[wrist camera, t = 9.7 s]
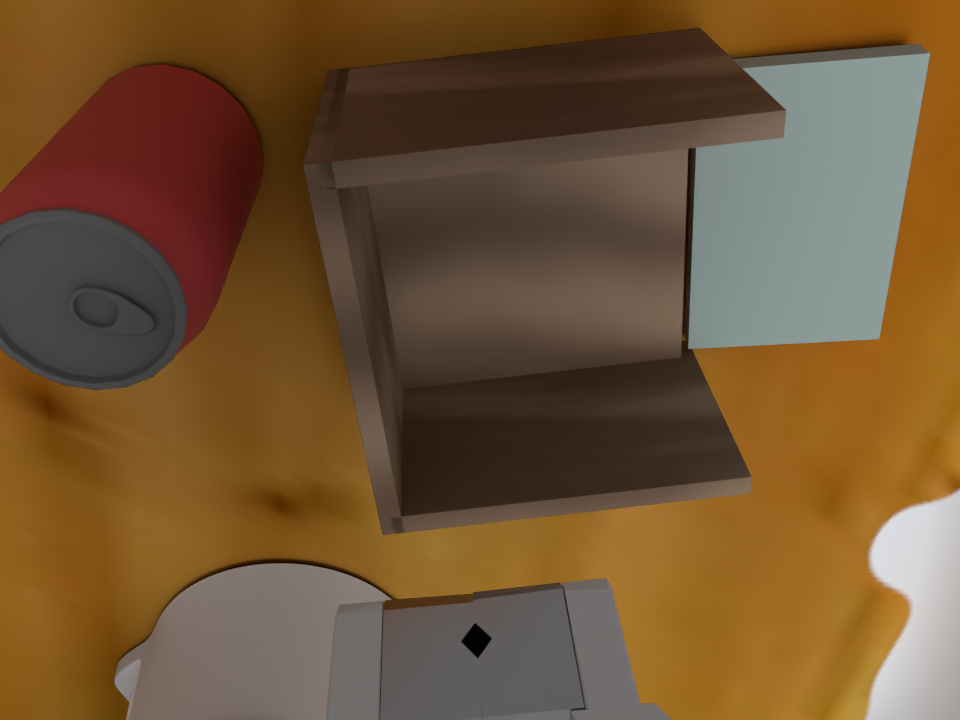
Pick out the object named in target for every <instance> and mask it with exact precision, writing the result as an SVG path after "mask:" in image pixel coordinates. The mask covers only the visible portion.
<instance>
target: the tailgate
mask: <svg viewBox="0 0 960 720" xmlns="http://www.w3.org/2000/svg"><path fill="white" fill-rule="evenodd" d="M929 57H930V53H929V52H928V51H927V50H926V49H924V48H923V47H922V46H920V45H919V44H910V45H898V46H885V47H873V48H861V49H849V50H836V51H824V52H812V53H799V54H787V55H775V56H762V57H750V58H738V59H733V60H734V61H735V62H736V63H737V64H738V65H739V66H740V67H741V68H742V69H744V70H745V71H746V72H747V73H748V74H749V75H750V76H751V77H752V78H753V79H754V80H755V81H756V82H757V83H758V84H759V85H760V86H761V87H763V88H764V89H765V90H766V91H767V92H768V93H769V94H770V95H771V96H772V97H773V98H774V99H775V100H776V101H777V102H778V103H779V104H780V105H782V106H783V107H784V108H785V109H786V120H785V130H784V138H776V139H768V140H759V141H750V142H741V143H733V144H724V145H715V146H706V147H698V148H691V164H690V192H689V220H688V248H687V275H686V303H685V331H684V335H685V338H686V342H687V346H688V349H698V348H718V347H737V346H756V345H775V344H794V343H813V342H832V341H851V340H870V339H879V337H880V331H881V326H882V320H883V315H884V309H885V303H886V298H887V292H888V287H889V281H890V275H891V270H892V264H893V259H894V253H895V247H896V242H897V236H898V231H899V225H900V220H901V214H902V208H903V203H904V197H905V192H906V186H907V180H908V175H909V169H910V164H911V158H912V152H913V147H914V141H915V136H916V130H917V124H918V119H919V113H920V108H921V102H922V97H923V91H924V85H925V80H926V74H927V69H928V63H929Z"/></svg>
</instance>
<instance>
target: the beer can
mask: <svg viewBox="0 0 960 720" xmlns="http://www.w3.org/2000/svg"><path fill="white" fill-rule="evenodd" d="M262 164H263V156H262V152H261V147H260V142H259V138H258V133H257V131H256V129H255V127H254V126H253V124H252V122H251V120H250V119H249V117H248V115H247V113H246V112H245V110H244V108H243V107H242V106H241V105H240V104H239V103H238V102H237V101H236V100H235V99H234V98H233V97H232V96H231V95H230V94H229V93H228V92H227V91H226V90H225V89H224V88H223V87H222V86H221V85H219V84H217V83H215V82H213V81H211V80H209V79H208V78H206V77H204V76H202V75H200V74H198V73H197V72H195V71H192V70H187V69H183V68H178V67H174V66H169V65H164V64H161V65H150V66H139V67H133V68H131V69H129V70H126V71H124V72H122V73H120V74H118V75H116V76H114V77H111V78H109V79H108V80H107V81H106V82H105V83H104V84H103V85H102V86H101V88H100V89H99V90H98V91H97V92H96V93H95V94H94V95H93V96H92V97H91V98H90V99H89V100H88V101H87V102H86V103H85V104H84V105H83V106H82V108H81V109H80V110H79V111H78V112H77V113H76V114H75V115H74V116H73V117H72V118H71V119H70V120H69V121H68V122H67V123H66V124H65V125H64V126H63V128H62V129H61V130H60V131H59V132H58V133H57V134H56V135H55V136H54V137H53V138H52V139H51V140H50V141H49V142H48V143H47V144H46V145H45V146H44V148H43V149H42V150H41V151H40V152H39V153H38V154H37V155H36V156H35V157H34V158H33V159H32V160H31V161H30V162H29V163H28V164H27V165H26V166H25V167H24V169H23V170H22V171H21V172H20V173H19V174H18V175H17V176H16V177H15V178H14V179H13V180H12V181H11V182H10V183H9V184H8V185H7V186H6V187H5V189H4V190H3V191H2V192H1V193H0V348H1V349H2V350H3V351H4V353H5V354H7V355H8V356H10V357H11V358H12V359H14V360H15V361H17V362H18V363H20V364H21V365H22V366H24V367H25V368H27V369H28V370H30V371H31V372H32V373H35V374H37V375H40V376H42V377H45V378H47V379H50V380H52V381H55V382H57V383H60V384H62V385H66V386H73V387H79V388H86V389H92V390H102V389H112V388H123V387H128V386H131V385H133V384H136V383H138V382H141V381H143V380H146V379H148V378H151V377H153V376H154V375H155V374H157V373H158V372H159V371H160V370H161V369H162V368H164V367H165V366H166V365H167V364H168V363H169V362H170V361H172V360H173V358H174V356H175V355H176V354H177V353H178V352H179V351H181V350H182V349H183V348H184V347H185V346H186V345H188V344H189V343H190V342H191V341H192V340H193V339H194V338H195V337H196V336H197V335H198V334H199V333H200V332H201V331H202V330H203V329H204V327H205V325H206V323H207V321H208V319H209V317H210V316H211V314H212V312H213V310H214V308H215V306H216V304H217V302H218V299H219V296H220V294H221V291H222V288H223V285H224V283H225V280H226V277H227V274H228V271H229V269H230V266H231V263H232V260H233V258H234V255H235V252H236V249H237V247H238V244H239V241H240V238H241V235H242V233H243V230H244V227H245V224H246V222H247V219H248V216H249V213H250V211H251V208H252V205H253V202H254V199H255V197H256V194H257V191H258V188H259V186H260V181H261V172H262Z"/></svg>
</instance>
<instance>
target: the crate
mask: <svg viewBox="0 0 960 720" xmlns="http://www.w3.org/2000/svg"><path fill="white" fill-rule="evenodd" d="M785 120H786V109H785V108H784V107H783V106H782V105H780V104H779V103H778V102H777V101H776V100H775V99H774V98H773V97H772V96H771V95H770V94H769V93H768V92H767V91H766V90H765V89H764V88H763V87H761V86H760V85H759V84H758V83H757V82H756V81H755V80H754V79H753V78H752V77H751V76H750V75H749V74H748V73H747V72H746V71H745V70H744V69H742V68H741V67H740V66H739V65H738V64H737V63H736V62H735V61H734V60H733V59H732V58H731V57H730V56H729V55H728V54H727V53H726V52H725V51H723V50H722V49H721V48H720V47H719V46H718V45H717V44H716V43H715V42H714V41H713V40H712V39H711V38H710V37H709V36H708V35H707V34H706V33H705V32H703V31H702V30H701V29H700V28H697V29H689V30H680V31H671V32H662V33H654V34H645V35H636V36H628V37H619V38H610V39H601V40H593V41H584V42H575V43H566V44H558V45H549V46H540V47H532V48H523V49H514V50H505V51H497V52H488V53H479V54H470V55H462V56H453V57H444V58H435V59H427V60H418V61H409V62H401V63H392V64H383V65H374V66H366V67H357V68H348V69H339V70H331V71H328V75H327V79H326V82H325V86H324V90H323V93H322V97H321V101H320V104H319V108H318V112H317V115H316V119H315V123H314V126H313V130H312V134H311V137H310V141H309V145H308V148H307V152H306V156H305V159H304V163H303V168H304V173H305V178H306V182H307V187H308V191H309V196H310V201H311V205H312V210H313V215H314V219H315V224H316V228H317V233H318V238H319V242H320V247H321V252H322V256H323V261H324V266H325V270H326V275H327V279H328V284H329V289H330V293H331V298H332V303H333V307H334V312H335V316H336V321H337V326H338V330H339V335H340V340H341V344H342V349H343V353H344V358H345V363H346V367H347V372H348V377H349V381H350V386H351V390H352V395H353V400H354V404H355V409H356V414H357V418H358V423H359V428H360V432H361V437H362V441H363V446H364V451H365V455H366V460H367V465H368V469H369V474H370V478H371V483H372V488H373V492H374V497H375V502H376V506H377V511H378V515H379V520H380V525H381V529H382V534H383V535H387V534H395V533H404V532H413V531H422V530H431V529H440V528H448V527H457V526H466V525H475V524H484V523H493V522H501V521H510V520H519V519H528V518H537V517H546V516H555V515H563V514H572V513H581V512H590V511H599V510H608V509H616V508H625V507H634V506H643V505H652V504H661V503H669V502H678V501H687V500H696V499H705V498H714V497H722V496H731V495H740V494H749V493H750V488H751V478H752V477H751V475H750V473H749V470H748V468H747V466H746V464H745V462H744V460H743V458H742V456H741V453H740V451H739V449H738V447H737V445H736V443H735V441H734V439H733V436H732V434H731V432H730V430H729V428H728V426H727V424H726V421H725V419H724V417H723V415H722V413H721V411H720V409H719V407H718V404H717V402H716V400H715V398H714V396H713V394H712V392H711V389H710V387H709V385H708V383H707V381H706V379H705V377H704V375H703V372H702V370H701V368H700V366H699V364H698V362H697V360H696V357H695V355H694V353H693V351H692V349H688V346H687V342H686V341H685V342H682V316H683V287H684V257H685V228H686V199H687V170H688V149H689V148H698V147H706V146H715V145H724V144H733V143H741V142H750V141H759V140H768V139H776V138H784V130H785Z"/></svg>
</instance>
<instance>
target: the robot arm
mask: <svg viewBox="0 0 960 720" xmlns="http://www.w3.org/2000/svg"><path fill="white" fill-rule="evenodd" d="M114 682H115V686H116V687H117V689H118V690H119V691H120V692H121V693H122V695H123V696H124V697H125V698H126V699H127V700H128V702H129V708H128V712H127V717H126V720H672V719H671V718H670V717H669V716H668V715H666V714H665V713H664V712H663V711H662V710H661V709H660V708H659V707H658V706H657V705H656V704H655V703H649V704H640V700H639V696H638V692H637V688H636V684H635V680H634V676H633V672H632V668H631V664H630V660H629V656H628V652H627V648H626V644H625V640H624V636H623V632H622V628H621V624H620V620H619V616H618V612H617V608H616V604H615V600H614V596H613V592H612V588H611V585H610V583H609V582H608V581H607V579H606V578H604V579H595V580H585V581H576V582H566V583H562V585H561V584H560V583H553V584H544V585H535V586H526V587H517V588H508V589H500V590H491V591H482V592H473V594H462V595H449V596H436V597H422V598H409V599H395V600H392V599H391V598H389V597H388V596H387V595H385V594H384V593H383V592H381V591H379V590H378V589H376V588H375V587H373V586H371V585H369V584H368V583H366V582H363V581H361V580H359V579H357V578H355V577H352V576H350V575H347V574H344V573H341V572H338V571H334V570H330V569H326V568H321V567H316V566H310V565H302V564H289V563H273V564H258V565H251V566H244V567H239V568H235V569H231V570H227V571H224V572H221V573H218V574H215V575H212V576H210V577H207V578H205V579H203V580H201V581H199V582H197V583H195V584H194V585H192V586H190V587H189V588H187V589H186V590H184V591H183V592H182V593H180V594H179V595H178V596H177V597H176V598H175V599H174V600H172V602H171V603H170V604H169V605H168V606H167V607H166V609H165V610H164V611H163V613H162V614H161V616H160V618H159V620H158V622H157V624H156V626H155V628H154V630H153V632H152V634H151V635H150V637H149V638H148V639H147V640H146V641H145V642H144V643H142V644H141V645H139V646H138V647H136V648H135V649H133V650H132V651H130V652H129V653H128V654H126V655H125V656H124V657H123V658H122V659H121V660H120V661H119V662H118V664H117V669H116V674H115V679H114Z"/></svg>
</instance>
